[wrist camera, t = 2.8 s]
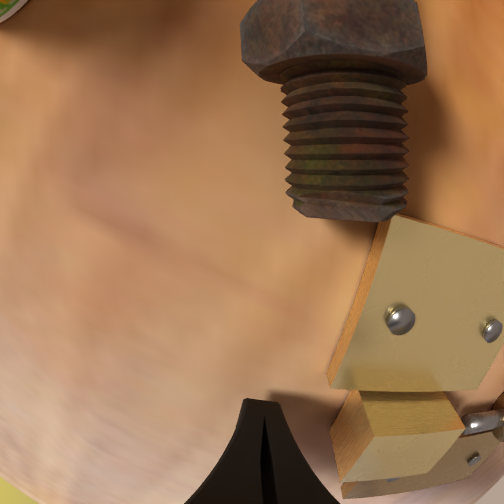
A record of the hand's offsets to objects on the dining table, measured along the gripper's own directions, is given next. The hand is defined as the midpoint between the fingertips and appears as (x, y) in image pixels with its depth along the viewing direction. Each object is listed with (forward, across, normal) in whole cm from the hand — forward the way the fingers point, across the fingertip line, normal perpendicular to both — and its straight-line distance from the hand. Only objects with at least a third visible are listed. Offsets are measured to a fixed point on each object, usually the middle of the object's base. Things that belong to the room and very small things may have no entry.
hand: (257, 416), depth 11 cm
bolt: (+2, +1, -16) cm, 16 cm away
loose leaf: (+1, -6, -3) cm, 7 cm away
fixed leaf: (+1, -13, +3) cm, 13 cm away
